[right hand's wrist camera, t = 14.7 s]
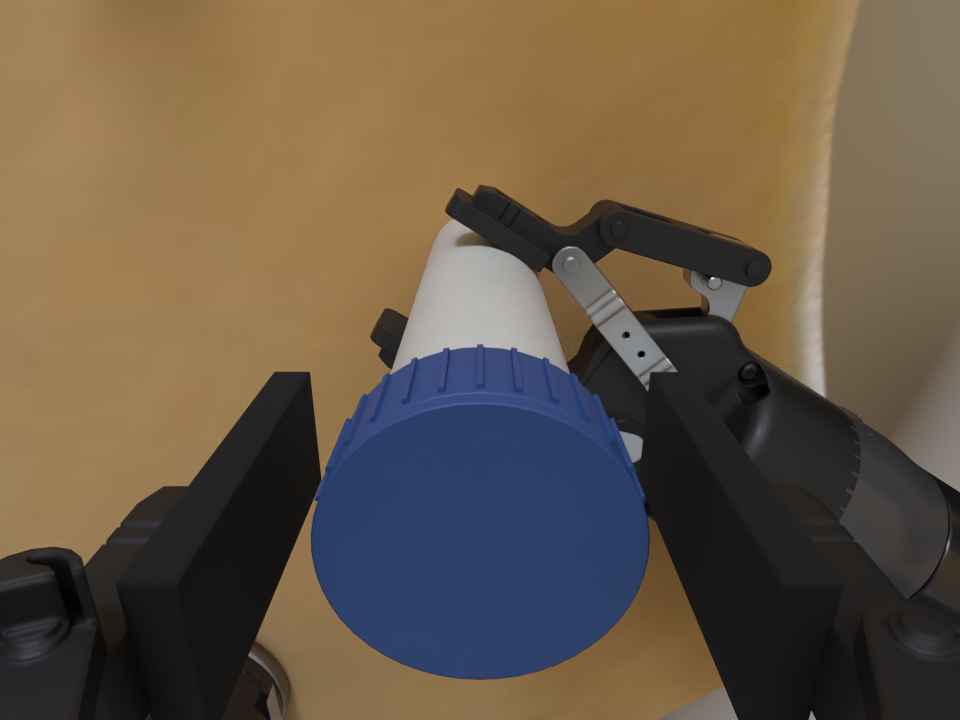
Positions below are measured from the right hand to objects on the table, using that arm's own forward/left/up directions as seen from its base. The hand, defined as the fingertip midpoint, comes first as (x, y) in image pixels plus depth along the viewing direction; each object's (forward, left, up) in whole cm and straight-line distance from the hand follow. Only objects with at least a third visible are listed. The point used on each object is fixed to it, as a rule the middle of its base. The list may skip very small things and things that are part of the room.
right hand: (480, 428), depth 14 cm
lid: (0, 0, +4) cm, 4 cm away
